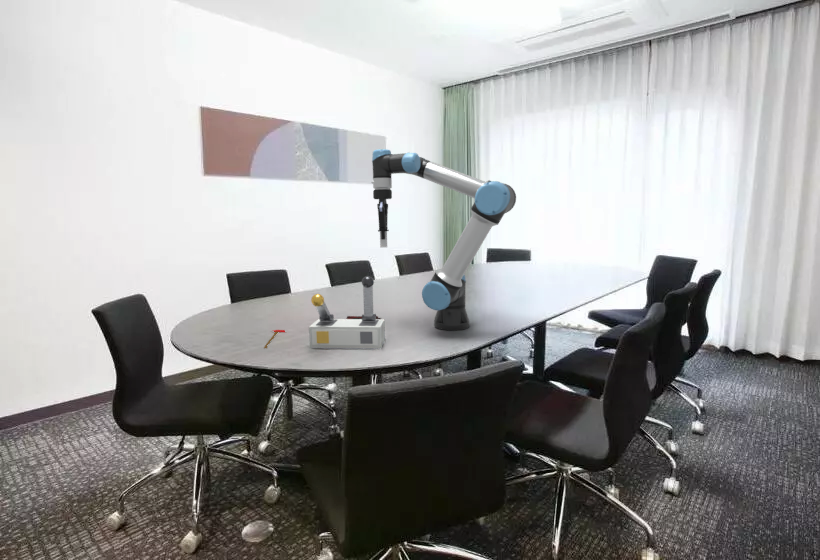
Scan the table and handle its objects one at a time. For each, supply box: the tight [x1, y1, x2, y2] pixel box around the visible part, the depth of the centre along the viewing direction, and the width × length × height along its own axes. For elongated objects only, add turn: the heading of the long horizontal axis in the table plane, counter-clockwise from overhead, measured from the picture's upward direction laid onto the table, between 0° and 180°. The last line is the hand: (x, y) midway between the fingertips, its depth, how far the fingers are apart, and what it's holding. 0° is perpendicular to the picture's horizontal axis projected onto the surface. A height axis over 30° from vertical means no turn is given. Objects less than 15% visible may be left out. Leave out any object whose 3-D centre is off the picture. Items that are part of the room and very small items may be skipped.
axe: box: [263, 329, 286, 349], centre depth 175 cm, size 26×1×10 cm
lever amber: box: [310, 293, 335, 321], centre depth 159 cm, size 5×4×17 cm
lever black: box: [361, 275, 377, 321], centre depth 163 cm, size 5×4×17 cm
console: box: [308, 318, 386, 350], centre depth 166 cm, size 26×12×8 cm, turn 85°
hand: (383, 247), depth 183 cm, fingers closed
